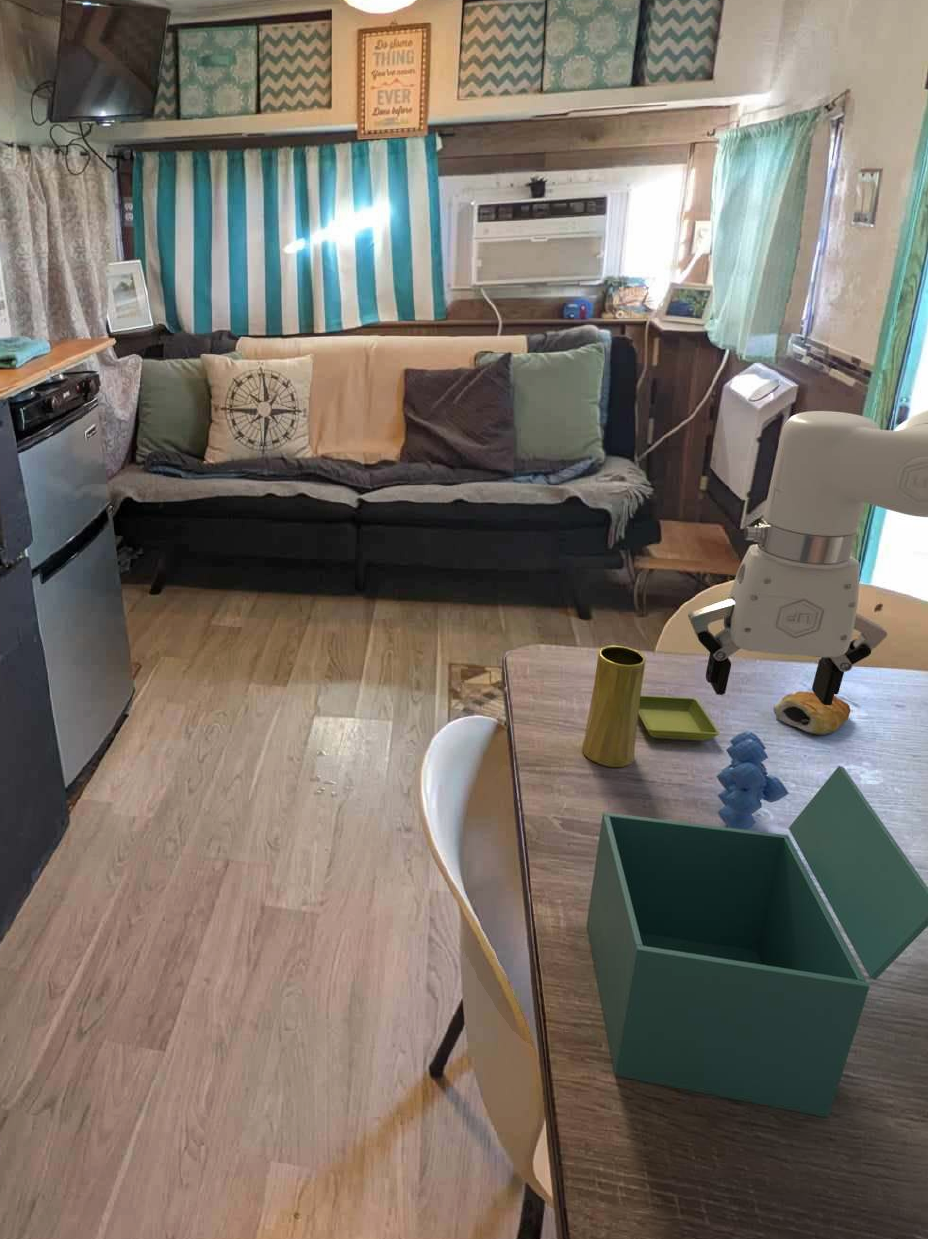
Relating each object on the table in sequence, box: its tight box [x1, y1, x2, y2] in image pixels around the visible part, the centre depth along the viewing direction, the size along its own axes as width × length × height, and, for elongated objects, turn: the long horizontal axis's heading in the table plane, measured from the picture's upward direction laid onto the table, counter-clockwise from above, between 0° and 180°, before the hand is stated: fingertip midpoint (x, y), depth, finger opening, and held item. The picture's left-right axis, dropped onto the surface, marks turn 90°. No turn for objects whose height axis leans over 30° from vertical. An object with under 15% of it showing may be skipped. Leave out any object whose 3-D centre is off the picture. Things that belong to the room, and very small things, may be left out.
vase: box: [581, 645, 647, 768], centre depth 105 cm, size 6×6×14 cm
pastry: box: [772, 690, 851, 736], centre depth 111 cm, size 9×7×4 cm
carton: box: [586, 812, 870, 1119], centre depth 70 cm, size 15×16×14 cm
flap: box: [788, 765, 928, 981], centre depth 64 cm, size 7×16×1 cm
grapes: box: [715, 730, 789, 830], centre depth 91 cm, size 12×7×12 cm, turn 150°
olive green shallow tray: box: [638, 694, 720, 742], centre depth 112 cm, size 9×9×2 cm
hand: (768, 693), depth 87 cm, fingers open, 9 cm apart
